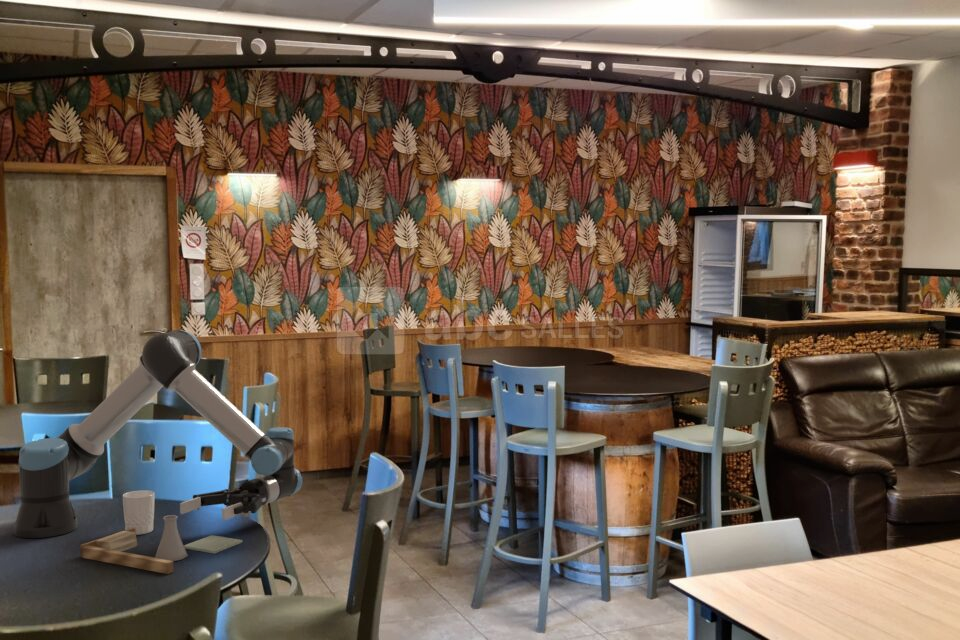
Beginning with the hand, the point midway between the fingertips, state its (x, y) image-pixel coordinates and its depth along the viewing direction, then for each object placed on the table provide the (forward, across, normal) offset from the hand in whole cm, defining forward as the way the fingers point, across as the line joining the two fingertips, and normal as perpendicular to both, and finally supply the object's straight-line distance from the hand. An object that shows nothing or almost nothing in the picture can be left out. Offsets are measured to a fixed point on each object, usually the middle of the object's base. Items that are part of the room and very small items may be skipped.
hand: (201, 511), depth 226 cm
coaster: (-2, -2, -9) cm, 9 cm away
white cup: (-3, +24, -9) cm, 26 cm away
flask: (+10, 0, -9) cm, 14 cm away
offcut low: (+11, +17, -9) cm, 22 cm away
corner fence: (+11, +6, -9) cm, 16 cm away
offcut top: (+12, +17, -7) cm, 22 cm away
